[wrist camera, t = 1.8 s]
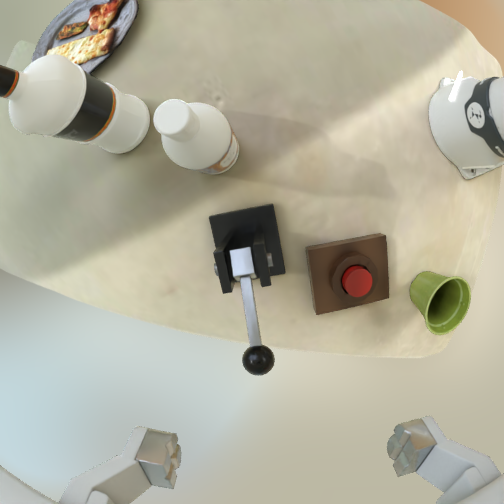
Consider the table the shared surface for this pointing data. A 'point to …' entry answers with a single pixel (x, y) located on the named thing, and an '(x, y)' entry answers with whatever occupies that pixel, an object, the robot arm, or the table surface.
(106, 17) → the food plate
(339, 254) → the button block
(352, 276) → the button
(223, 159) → the bath foam
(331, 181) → the table surface
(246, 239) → the tap bracket
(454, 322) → the plant pot
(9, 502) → the robot arm
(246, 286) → the lever
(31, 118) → the vodka
